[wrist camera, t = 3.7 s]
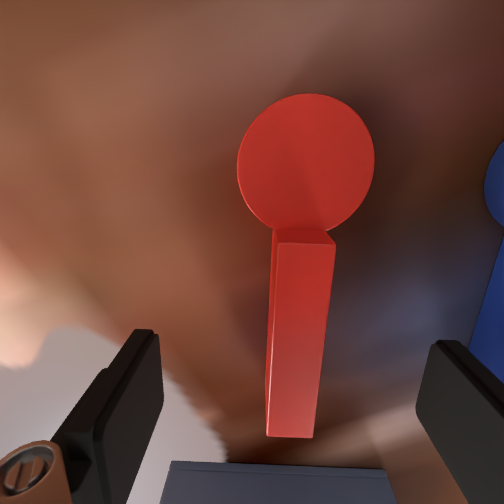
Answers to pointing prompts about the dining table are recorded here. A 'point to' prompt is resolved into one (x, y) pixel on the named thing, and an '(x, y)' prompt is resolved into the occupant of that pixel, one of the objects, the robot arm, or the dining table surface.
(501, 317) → the blue spoon
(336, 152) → the red spoon
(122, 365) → the robot arm
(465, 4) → the dining table surface
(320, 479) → the blue tray
